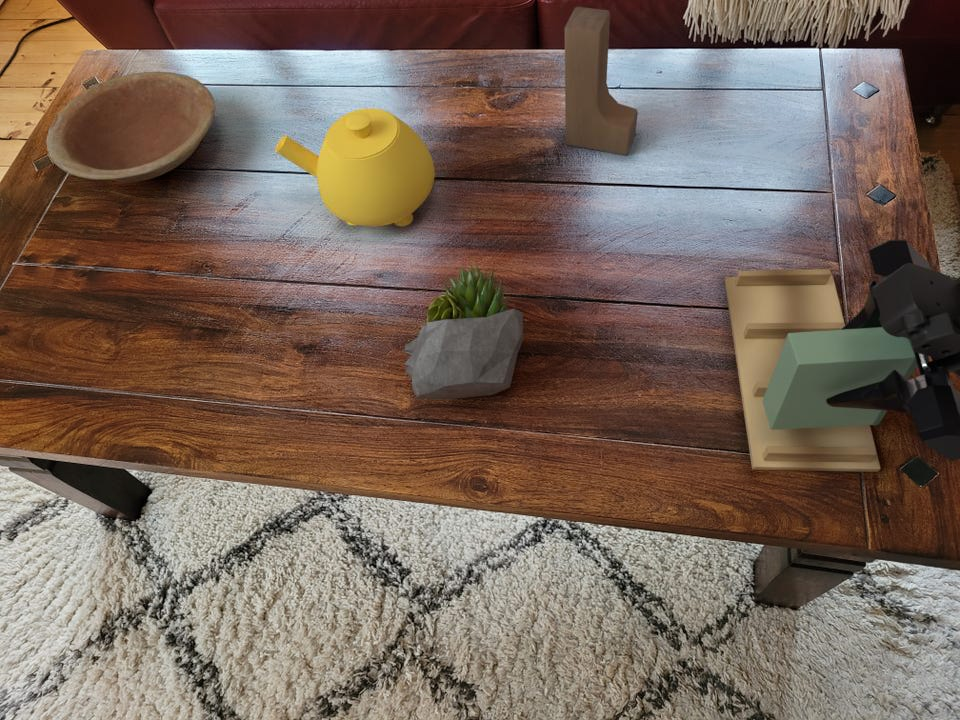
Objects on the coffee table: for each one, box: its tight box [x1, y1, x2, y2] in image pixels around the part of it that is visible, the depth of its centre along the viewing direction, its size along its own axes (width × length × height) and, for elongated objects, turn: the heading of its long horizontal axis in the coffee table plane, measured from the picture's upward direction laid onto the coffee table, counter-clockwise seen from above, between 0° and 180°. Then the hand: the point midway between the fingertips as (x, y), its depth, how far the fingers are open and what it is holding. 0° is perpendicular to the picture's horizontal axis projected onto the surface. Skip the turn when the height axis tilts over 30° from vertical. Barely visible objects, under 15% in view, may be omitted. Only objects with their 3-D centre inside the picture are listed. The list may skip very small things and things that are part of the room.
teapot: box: [274, 107, 436, 227], centre depth 89 cm, size 20×16×14 cm
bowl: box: [46, 71, 216, 183], centre depth 101 cm, size 24×24×8 cm
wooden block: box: [564, 6, 639, 156], centre depth 89 cm, size 9×4×18 cm, turn 69°
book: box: [763, 327, 918, 430], centre depth 64 cm, size 10×4×11 cm, turn 90°
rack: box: [724, 268, 881, 473], centre depth 74 cm, size 12×24×3 cm, turn 176°
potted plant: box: [403, 263, 524, 401], centre depth 75 cm, size 12×13×15 cm
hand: (823, 377), depth 63 cm, fingers closed on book, 5 cm apart
